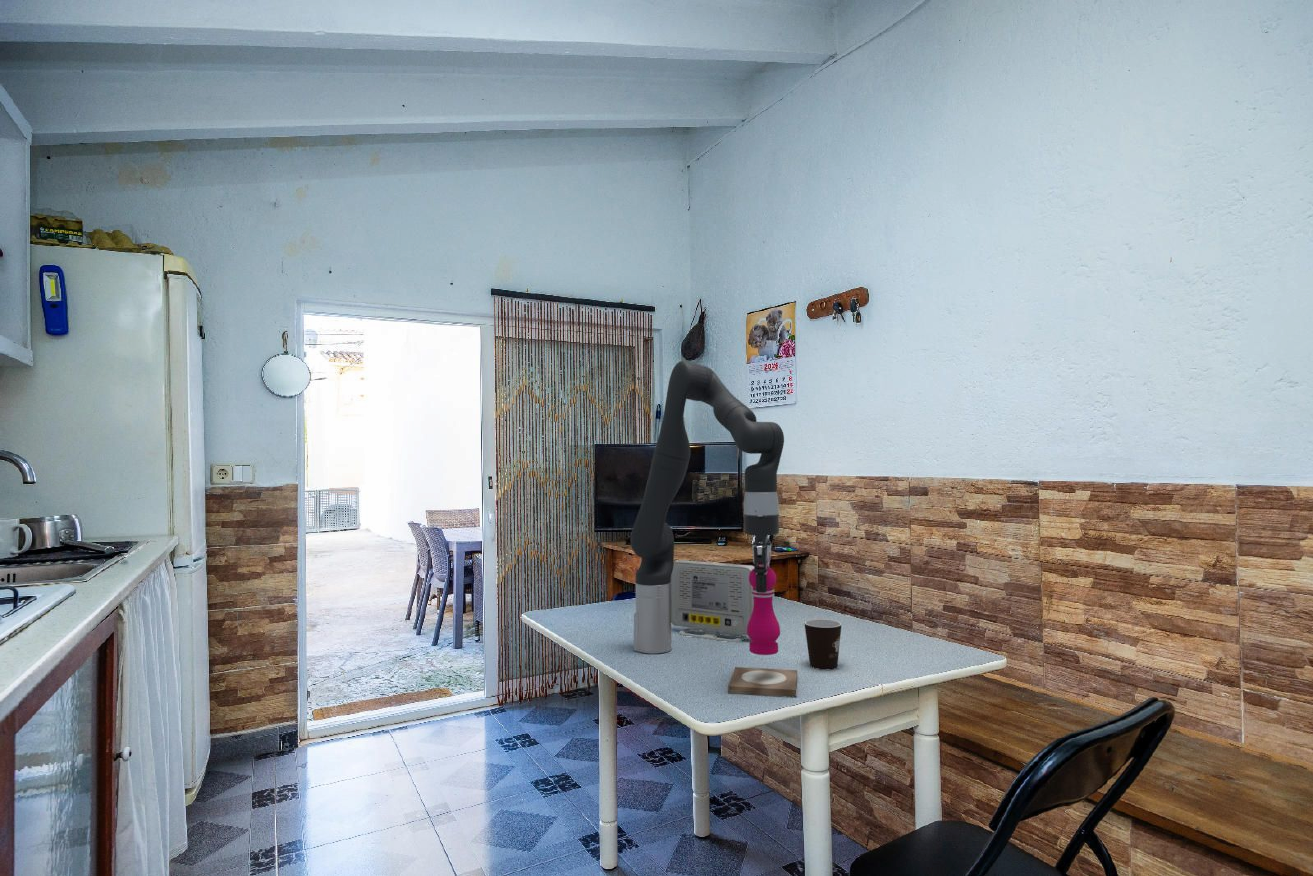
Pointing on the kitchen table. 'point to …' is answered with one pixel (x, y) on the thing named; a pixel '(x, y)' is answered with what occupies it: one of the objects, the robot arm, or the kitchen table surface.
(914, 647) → the kitchen table surface
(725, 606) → the network device
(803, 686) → the kitchen table surface
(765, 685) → the walnut board
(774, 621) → the pepper mill
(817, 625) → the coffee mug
